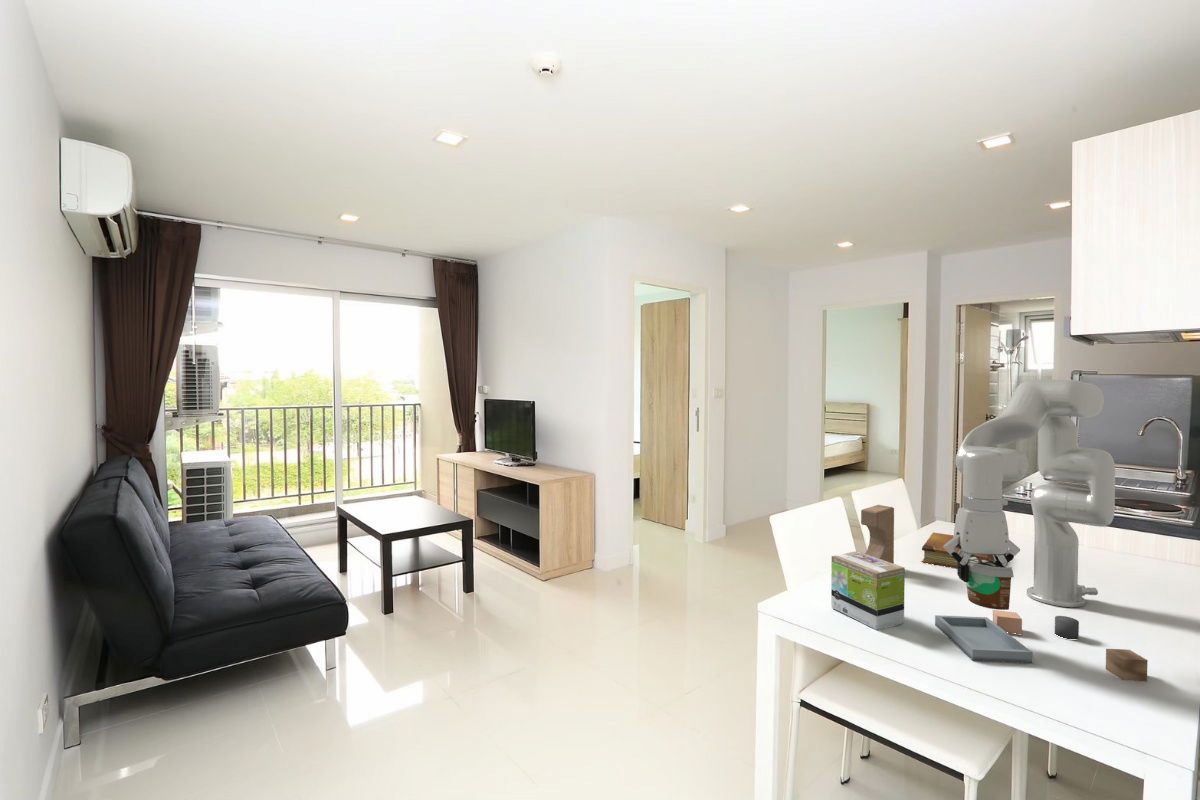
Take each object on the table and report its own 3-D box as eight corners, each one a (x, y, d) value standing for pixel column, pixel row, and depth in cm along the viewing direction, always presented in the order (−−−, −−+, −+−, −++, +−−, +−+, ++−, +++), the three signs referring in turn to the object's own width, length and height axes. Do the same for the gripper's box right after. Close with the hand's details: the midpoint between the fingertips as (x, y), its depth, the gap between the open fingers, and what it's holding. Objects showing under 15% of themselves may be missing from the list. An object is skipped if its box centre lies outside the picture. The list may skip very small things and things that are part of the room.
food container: (949, 593, 138) (948, 552, 137) (973, 591, 138) (972, 550, 138) (988, 614, 126) (987, 570, 125) (1014, 612, 126) (1013, 568, 126)
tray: (986, 627, 140) (987, 617, 140) (1032, 663, 123) (1032, 652, 122) (935, 625, 142) (935, 615, 142) (972, 660, 124) (972, 649, 124)
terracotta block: (1016, 628, 140) (1016, 612, 140) (1021, 635, 136) (1022, 619, 136) (992, 625, 142) (992, 609, 142) (997, 632, 138) (997, 616, 138)
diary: (989, 576, 178) (990, 558, 177) (921, 564, 189) (922, 547, 189) (995, 556, 196) (995, 540, 195) (932, 547, 207) (932, 531, 207)
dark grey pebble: (1070, 632, 137) (1070, 616, 137) (1083, 640, 133) (1083, 623, 133) (1050, 631, 138) (1050, 615, 138) (1062, 639, 133) (1062, 623, 133)
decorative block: (877, 576, 177) (877, 512, 176) (859, 571, 182) (859, 509, 181) (894, 568, 184) (895, 507, 183) (877, 564, 188) (877, 504, 187)
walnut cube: (1129, 670, 119) (1129, 649, 119) (1147, 681, 115) (1147, 660, 115) (1105, 669, 120) (1106, 648, 120) (1122, 680, 116) (1122, 659, 115)
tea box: (829, 608, 153) (829, 554, 152) (857, 602, 157) (857, 549, 156) (876, 631, 139) (877, 571, 138) (905, 624, 143) (906, 565, 142)
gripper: (1013, 501, 134) (1012, 576, 134) (934, 500, 136) (933, 574, 137) (1033, 508, 126) (1031, 588, 127) (949, 507, 128) (948, 585, 129)
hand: (980, 580), depth 132 cm, fingers closed on food container, 6 cm apart
